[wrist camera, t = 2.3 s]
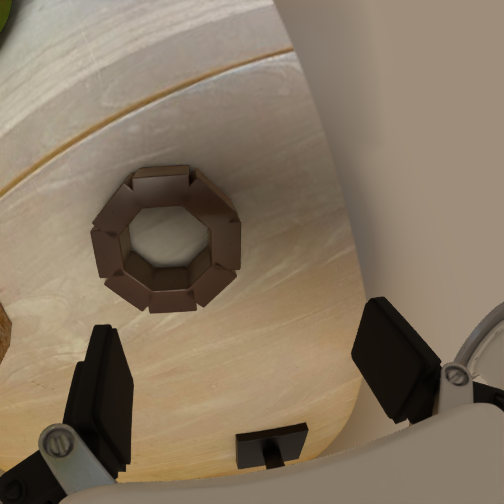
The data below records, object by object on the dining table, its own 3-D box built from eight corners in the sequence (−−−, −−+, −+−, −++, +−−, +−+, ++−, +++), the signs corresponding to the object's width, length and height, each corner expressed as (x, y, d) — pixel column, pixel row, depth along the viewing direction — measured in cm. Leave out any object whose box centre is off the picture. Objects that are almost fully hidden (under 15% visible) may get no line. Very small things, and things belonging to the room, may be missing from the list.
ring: (234, 163, 19) (242, 172, 17) (233, 284, 23) (240, 307, 21) (97, 172, 18) (82, 183, 15) (116, 291, 22) (108, 315, 19)
